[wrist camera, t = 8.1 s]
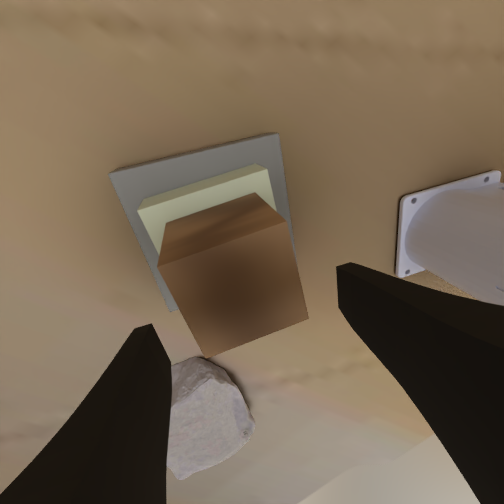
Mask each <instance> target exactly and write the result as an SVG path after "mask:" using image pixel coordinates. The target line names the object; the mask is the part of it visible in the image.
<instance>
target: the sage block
mask: <svg viewBox="0 0 504 504" xmlns="http://www.w3.org/2000/svg"><path fill="white" fill-rule="evenodd" d="M254 192H256V193H257V194H258V195H259V196H260V197H261V198H262V199H263V200H264V201H265V202H266V203H268V204H269V205H270V206H271V207H272V208H273V209H274V210H275V211H276V206H275V202H274V197H273V193H272V188H271V184H270V179H269V175H268V170H267V169H266V168H264V167H262V166H260V165H258V164H256V163H255V164H252V165H249V166H246V167H242V168H239V169H236V170H233V171H230V172H227V173H224V174H220V175H217V176H214V177H211V178H208V179H205V180H202V181H198V182H195V183H192V184H189V185H186V186H183V187H180V188H176V189H173V190H170V191H167V192H164V193H161V194H158V195H154V196H151V197H148V198H145V199H143V201H142V203H141V204H140V206H139V208H138V210H137V212H138V214H139V216H140V218H141V220H142V222H143V224H144V226H145V228H146V230H147V232H148V234H149V236H150V238H151V240H152V242H153V244H154V246H155V248H156V250H157V252H158V254H159V255H160V250H161V245H162V240H163V235H164V230H165V225H166V223H167V222H170V221H173V220H175V219H178V218H181V217H184V216H187V215H190V214H193V213H196V212H199V211H202V210H205V209H208V208H210V207H213V206H216V205H219V204H222V203H225V202H228V201H231V200H234V199H237V198H240V197H242V196H245V195H248V194H251V193H254ZM276 212H277V211H276Z"/></svg>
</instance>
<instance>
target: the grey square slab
mask: <svg viewBox="0 0 504 504" xmlns="http://www.w3.org/2000/svg"><path fill="white" fill-rule="evenodd" d="M255 163H256V164H258V165H260V166H262V167H264V168H266V169H267V170H268V175H269V179H270V184H271V188H272V193H273V197H274V202H275V206H276V211H277V213H278V214H280V215H281V216H282V217H283V218H284V219H285V220H286V221H287V224H288V229H289V233H290V238H291V242H292V246H293V251H294V255H295V260H296V253H295V246H294V239H293V231H292V224H291V217H290V210H289V203H288V195H287V188H286V181H285V174H284V167H283V159H282V152H281V145H280V138H279V133H266V134H262V135H257V136H253V137H249V138H245V139H241V140H236V141H232V142H228V143H224V144H220V145H215V146H211V147H207V148H203V149H199V150H194V151H190V152H186V153H182V154H178V155H173V156H169V157H165V158H161V159H157V160H152V161H148V162H144V163H140V164H136V165H131V166H127V167H123V168H119V169H115V170H114V171H112V172H110V173H109V174H108V175H109V177H110V180H111V182H112V184H113V186H114V189H115V191H116V193H117V195H118V197H119V200H120V202H121V204H122V206H123V209H124V211H125V213H126V215H127V218H128V220H129V222H130V224H131V226H132V229H133V231H134V233H135V235H136V238H137V240H138V242H139V244H140V247H141V249H142V251H143V253H144V256H145V258H146V260H147V262H148V264H149V267H150V269H151V271H152V273H153V276H154V278H155V280H156V282H157V285H158V287H159V289H160V291H161V293H162V296H163V298H164V300H165V302H166V305H167V307H168V309H169V311H170V312H172V311H175V310H178V309H179V308H178V306H177V304H176V302H175V300H174V298H173V297H172V295H171V293H170V291H169V289H168V287H167V285H166V283H165V282H164V280H163V278H162V276H161V274H160V272H159V270H158V268H157V264H158V260H159V254H158V252H157V250H156V248H155V246H154V244H153V242H152V240H151V238H150V236H149V234H148V232H147V230H146V228H145V226H144V224H143V222H142V220H141V218H140V216H139V214H138V212H137V210H138V208H139V206H140V204H141V203H142V201H143V199H145V198H148V197H151V196H154V195H158V194H161V193H164V192H167V191H170V190H173V189H176V188H180V187H183V186H186V185H189V184H192V183H195V182H198V181H202V180H205V179H208V178H211V177H214V176H217V175H220V174H224V173H227V172H230V171H233V170H236V169H239V168H242V167H246V166H249V165H252V164H255ZM296 264H297V260H296ZM297 268H298V267H297Z"/></svg>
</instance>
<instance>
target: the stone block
mask: <svg viewBox="0 0 504 504" xmlns="http://www.w3.org/2000/svg"><path fill="white" fill-rule="evenodd" d="M171 372H172V401H171V414H170V427H169V439H168V452H167V467H169V468H170V469H171V471H172V472H173V474H174V475H175V477H176V478H177V479H180V480H183V479H186V478H187V477H188V476H190V475H191V474H193V473H195V472H198V471H201V470H205V469H207V468H209V467H211V466H215V465H217V464H219V463H220V462H222V461H224V460H226V459H227V458H229V457H231V456H233V455H234V454H235V453H236V452H237V451H238V450H239V449H240V448H241V447H242V446H243V445H244V444H245V443H247V442H248V441H249V440H250V435H251V434H252V433H253V432H254V428H255V421H254V418H253V416H252V415H251V413H250V411H249V409H248V407H247V404H246V403H245V401H244V399H243V396H242V394H241V392H240V391H239V389H238V387H237V385H236V384H234V383H233V382H232V381H231V379H230V377H229V376H228V375H227V373H226V371H225V370H224V369H223V368H221V367H218V366H216V365H215V364H213V363H211V362H208V361H206V360H205V359H202V358H199V357H193V358H189V359H188V360H186V361H183V362H180V363H177V364H175V365H172V366H171Z"/></svg>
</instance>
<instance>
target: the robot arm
mask: <svg viewBox="0 0 504 504" xmlns="http://www.w3.org/2000/svg"><path fill="white" fill-rule="evenodd" d="M500 177H501V172H500V171H498V170H493V171H489V172H486V173H482V174H479V175H475V176H472V177H468V178H465V179H461V180H458V181H454V182H451V183H447V184H444V185H440V186H437V187H433V188H430V189H427V190H423V191H420V192H416V193H413V194H409V195H406V196H404V197H403V198H402V199H401V201H400V212H399V228H398V243H397V259H396V276H398V277H399V278H403V277H406V276H409V275H412V274H415V273H418V272H421V271H424V270H428V271H429V272H431V273H433V274H435V275H436V276H438V277H440V278H441V279H443V280H445V281H447V282H448V283H450V284H452V285H454V286H455V287H457V288H459V289H460V290H462V291H464V292H466V293H467V294H469V295H471V296H473V297H474V298H476V299H478V300H480V301H478V300H473V299H469V298H465V297H460V296H456V295H452V294H448V293H445V292H441V291H438V290H434V289H431V288H427V287H424V286H421V285H417V284H414V283H411V282H408V281H405V280H402V279H399V278H396V277H393V276H390V275H387V274H385V273H382V272H379V271H376V270H373V269H370V268H367V267H365V266H362V265H358V264H355V263H352V262H350V263H346V264H343V265H340V266H337V267H336V271H337V289H338V306H339V309H340V310H341V312H342V314H343V315H344V317H345V318H346V320H347V321H348V323H349V324H350V326H351V327H352V329H353V330H354V331H355V332H356V333H357V335H358V336H359V337H360V338H361V339H362V340H363V342H364V343H365V344H366V345H367V346H368V347H369V349H370V350H371V351H372V352H373V353H374V354H375V355H376V357H377V358H378V359H379V360H380V361H381V362H382V363H383V365H384V366H385V367H386V368H387V369H388V370H389V372H390V373H391V374H392V375H393V376H394V377H395V379H396V380H397V381H398V382H399V384H400V385H401V386H402V387H403V389H404V390H405V391H406V393H407V394H408V396H409V397H410V398H411V400H412V401H413V403H414V404H415V405H416V407H417V408H418V410H419V411H420V412H421V414H422V415H423V417H424V418H425V420H426V421H427V422H428V424H429V425H430V427H431V428H432V430H433V431H434V433H435V434H436V436H437V437H438V438H439V440H440V441H441V443H442V444H443V446H444V447H445V449H446V450H447V452H448V453H449V455H450V457H451V458H452V460H453V461H454V463H455V464H456V466H457V467H458V469H459V470H460V472H461V473H462V474H463V476H464V478H465V480H466V481H467V483H468V484H469V486H470V488H471V489H472V491H473V492H474V494H475V496H476V497H477V499H478V500H479V502H480V504H504V183H501V182H500ZM412 199H413V201H412V202H411V200H412ZM406 270H407V271H406ZM171 401H172V372H171V361H170V359H169V357H168V355H167V353H166V351H165V349H164V347H163V345H162V343H161V341H160V339H159V337H158V335H157V333H156V331H155V329H154V327H153V325H152V323H151V324H148V325H145V326H141V327H138V328H135V329H134V330H133V331H132V333H131V334H130V336H129V337H128V338H127V340H126V341H125V343H124V344H123V346H122V347H121V349H120V350H119V352H118V353H117V354H116V356H115V357H114V359H113V360H112V362H111V363H110V365H109V366H108V367H107V369H106V370H105V372H104V373H103V374H102V376H101V377H100V379H99V380H98V381H97V383H96V384H95V385H94V387H93V388H92V389H91V391H90V392H89V393H88V395H87V396H86V397H85V399H84V400H83V401H82V402H81V404H80V405H79V406H78V408H77V409H76V410H75V412H74V413H73V414H72V415H71V417H70V418H69V419H68V420H67V422H66V423H65V424H64V425H63V426H62V428H61V429H60V430H59V431H58V432H57V434H56V435H55V436H54V437H53V438H52V439H51V440H50V442H49V443H48V444H47V445H46V446H45V447H44V448H43V450H42V451H41V452H40V453H39V454H38V455H37V456H36V457H35V459H34V460H33V461H32V462H31V463H30V464H29V465H28V466H27V467H26V468H25V469H24V470H23V471H22V472H21V473H20V474H19V475H18V477H17V478H16V479H15V480H14V481H13V482H12V483H11V484H10V485H9V486H8V487H7V488H6V489H5V490H4V491H3V492H2V493H1V494H0V504H166V468H167V452H168V439H169V427H170V414H171Z"/></svg>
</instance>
